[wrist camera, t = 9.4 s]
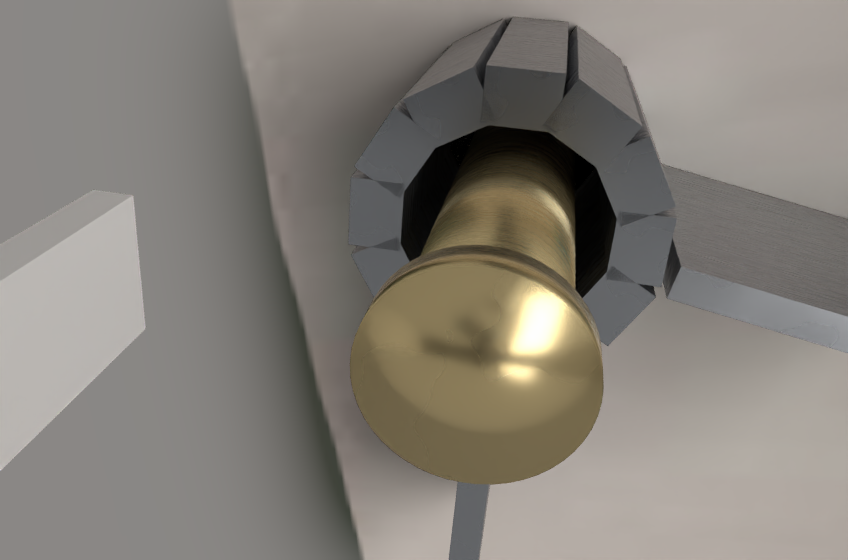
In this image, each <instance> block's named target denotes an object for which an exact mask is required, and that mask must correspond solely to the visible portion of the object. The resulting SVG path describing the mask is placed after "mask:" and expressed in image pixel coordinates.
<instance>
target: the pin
mask: <svg viewBox="0 0 848 560" xmlns="http://www.w3.org/2000/svg"><path fill="white" fill-rule="evenodd" d="M350 377H351V383H352V388H353V392H354V395H355V398H356V401H357V404H358V406H359V408H360V411H361V413H362V415H363V417H364V418H365V420H366V421H367V423H368V424H369V426H370V427H371V429H372V430H373V431H374V433H375V434H376V435H377V436H378V437H379V438H380V440H381V441H382V442H383V443H384V444H386V445H387V446H388V447H389V448H390V449H391V450H392V451H393V452H395V453H396V454H397V455H399V456H400V457H401V458H403V459H404V460H406V461H407V462H409V463H411V464H412V465H414V466H416V467H417V468H420V469H422V470H424V471H426V472H428V473H431V474H433V475H436V476H439V477H442V478H445V479H449V480H453V481H458V482H463V483H471V484H502V483H510V482H515V481H520V480H524V479H527V478H530V477H533V476H536V475H539V474H541V473H543V472H545V471H547V470H549V469H551V468H553V467H554V466H556V465H558V464H559V463H561V462H562V461H564V460H565V459H566V458H567V457H568V456H570V455H571V454H572V453H573V452H574V451H575V450H576V449H577V448H578V447H579V446H580V445H581V444H582V443H583V441H584V440H585V439H586V437H587V436H588V434H589V433H590V431H591V430H592V428H593V425H594V423H595V421H596V419H597V417H598V414H599V410H600V407H601V403H602V396H603V366H602V349H601V342H600V337H599V332H598V329H597V326H596V323H595V320H594V318H593V316H592V314H591V312H590V310H589V308H588V306H587V304H586V303H585V302H584V300H583V299H582V297H581V296H580V295H579V293H578V292H577V291H576V290H575V151H574V150H572V149H571V148H569V147H568V146H567V145H565V144H564V143H563V142H561V141H560V140H559V139H557V138H556V137H555V136H553V135H552V134H551V133H549V132H544V131H536V130H527V129H519V128H510V127H501V126H493V125H488V126H485V127H483V128H481V129H478V130H476V132H475V134H474V136H473V138H472V141H471V143H470V145H469V147H468V150H467V152H466V154H465V156H464V159H463V161H462V163H461V165H460V168H459V170H458V172H457V174H456V177H455V179H454V181H453V183H452V186H451V188H450V190H449V192H448V194H447V197H446V199H445V201H444V203H443V206H442V208H441V210H440V212H439V215H438V217H437V219H436V221H435V224H434V226H433V228H432V230H431V233H430V235H429V237H428V239H427V242H426V244H425V246H424V248H423V251H422V253H421V255H420V257H418V258H416V259H414V260H412V261H410V262H409V263H407V264H406V265H404V266H403V267H401V268H400V269H399V270H398V271H396V272H395V273H394V274H393V275H392V276H391V277H390V278H389V279H388V280H387V281H386V282H385V283H384V284H383V286H382V287H381V288H380V290H379V291H378V293H377V294H376V296H375V297H374V299H373V301H372V303H371V305H370V306H369V308H368V310H367V312H366V314H365V316H364V318H363V320H362V322H361V324H360V326H359V329H358V331H357V333H356V335H355V338H354V342H353V346H352V349H351V358H350Z"/></svg>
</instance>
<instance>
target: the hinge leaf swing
mask: <svg viewBox="0 0 848 560" xmlns="http://www.w3.org/2000/svg"><path fill="white" fill-rule="evenodd" d="M662 167H663V170H664V173H665V176H666V178H667V181H668V184H669V187H670V190H671V193H672V196H673V199H674V202H675V204H676V207H673V208H674V211H675V214H676V217H677V220H676V225H675V229H674V234H673V238H672V242H671V247H670V251H669V256H668V260H667V264H666V269H665V273H664V277H663V284H664V288H665V292H666V296H667V299H670V300H674V301H677V302H680V303H684V304H687V305H690V306H693V307H697V308H700V309H703V310H707V311H710V312H713V313H717V314H720V315H723V316H726V317H730V318H733V319H736V320H740V321H743V322H746V323H750V324H753V325H756V326H760V327H763V328H766V329H769V330H773V331H776V332H779V333H783V334H786V335H789V336H793V337H796V338H799V339H802V340H806V341H809V342H812V343H816V344H819V345H822V346H826V347H829V348H832V349H836V350H839V351H842V352H845V353H848V219H845V218H842V217H839V216H835V215H832V214H828V213H825V212H822V211H818V210H815V209H811V208H808V207H805V206H801V205H798V204H795V203H791V202H788V201H784V200H781V199H778V198H774V197H771V196H767V195H764V194H761V193H757V192H754V191H750V190H747V189H744V188H740V187H737V186H734V185H730V184H727V183H723V182H720V181H717V180H713V179H710V178H706V177H703V176H700V175H696V174H693V173H689V172H686V171H683V170H679V169H676V168H673V167H669V166H666V165H662Z"/></svg>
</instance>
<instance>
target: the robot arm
mask: <svg viewBox="0 0 848 560" xmlns="http://www.w3.org/2000/svg"><path fill="white" fill-rule="evenodd" d="M145 329H146V327H145V317H144V306H143V295H142V285H141V274H140V263H139V252H138V241H137V232H136V220H135V209H134V198H133V195H128V194H121V193H114V192H106V191H98V190H92V191H91V192H89V193H87V194H85V195H84V196H82V197H80V198H79V199H77V200H75V201H74V202H72V203H70V204H68V205H67V206H65V207H63V208H61V209H60V210H58V211H56V212H54V213H53V214H51V215H49V216H48V217H46V218H44V219H42V220H41V221H39V222H37V223H36V224H34V225H32V226H31V227H29V228H27V229H25V230H24V231H22V232H20V233H18V234H17V235H15V236H13V237H12V238H10V239H8V240H6V241H5V242H3V243H1V244H0V471H1V470H2V469H3V468H4V467H5V466H6V465H7V464H8V463H9V462H10V461H11V460H12V459H13V458H14V457H15V456H16V455H17V454H18V453H19V452H20V451H21V450H22V449H23V448H24V447H25V446H26V445H27V444H28V443H29V442H30V441H31V440H32V439H33V438H34V437H36V436H37V434H38V433H40V432H41V431H42V430H43V429H44V428H45V427H46V426H47V425H48V424H49V423H50V422H51V421H52V420H53V419H54V418H55V417H56V416H57V415H58V414H59V413H60V412H61V411H62V410H63V409H64V408H65V407H66V406H67V405H68V404H69V403H70V402H71V401H72V400H73V399H74V398H75V397H76V396H77V395H78V394H79V393H80V392H81V391H83V390H84V389H85V388H86V387H87V386H88V385H89V384H90V383H91V381H93V380H94V378H96V377H97V376H98V375H99V374H100V373H101V372H102V371H103V370H104V369H105V368H106V367H107V366H108V365H109V364H110V363H111V362H112V361H113V360H114V359H115V358H116V357H117V356H118V355H119V354H120V353H121V352H122V351H123V350H124V349H125V348H126V347H128V346H129V345H130V343H131V342H132V341H133V340H135V339H136V338H137V337H138V336H139V335H140V334H141V333H142V332H143V331H144V330H145Z"/></svg>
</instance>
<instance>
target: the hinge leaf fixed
mask: <svg viewBox="0 0 848 560" xmlns="http://www.w3.org/2000/svg"><path fill="white" fill-rule="evenodd" d="M568 26H569V22H561V21H551V20H541V19H531V18H520V17H513V18H512V20H511V22H510V24H509V25H508V26H507V24H506V21H505V19H502V20H500V21H498V22H496V23H494V24H491V25H489V26H487V27H485V28H483V29H481V30H479V31H477V32H475V33H472V34H470V35H468V36H466V37H464V38H462V39H460V40H458V41H456V42H454V43H453V44H452V46H451V47H450V48H447V49H446V50H445V52H444V53H443V54H442V55H441V56H440V57H439V58H438V59H437V60H436V61H435V63H434V64H433V65H432V66H431V67H430V68H429V69H428V70H427V71H426V72H425V74H424V75H423V76H422V77H421V78H420V79H419V80H418V81H417V82H416V83H415V84H414V86H413V87H412V88H411V89H410V90H409V91H408V92H407V93H406V94H405V95H404V97H403V98H402V99H401V100H400V101H399V102H398V103H397V104H396V105H395V106H394V108H393V109H392V111H391V112H390V114H389V115H388V117H387V118H386V120H385V121H384V123H383V124H382V126H381V127H380V129H379V130H378V132H377V133H376V134H375V136H374V137H373V139H372V140H371V142H370V143H369V145H368V146H367V148H366V149H365V151H364V152H363V154H362V155H361V157H360V158H359V160H358V161H357V163H356V164H355V166H354V167H356V168H357V170H356V172H355V173H354V174H353V175H352V176H351V184H350V213H349V243H348V244H351V245H357V246H356V248H355V250H354V251H353V253H352V254H351V256H352V258H353V259H354V261H355V263H356V265H357V267H358V269H359V271H360V273H361V274H362V276H363V278H364V280H365V282H366V284H367V286H368V288H369V289H370V291H371V293H372V295H373V297H375V296H376V294H377V293H378V291H379V290H380V288H381V287H382V286H383V284H384V283H385V282H386V281H387V280H388V279H389V278H390V277H391V276H392V275H393V274H394V273H395V272H396V271H398V270H399V269H400V268H401V267H403V266H404V265H406V264H407V263H409V262H410V261H412V260H414V259H416V258H418V257H420V255H421V253H422V251H423V248H424V246H425V244H426V242H427V239H428V237H429V235H430V233H431V230H432V228H433V226H434V224H435V221H436V219H437V217H438V215H439V212H440V210H441V208H442V206H443V203H444V201H445V199H446V197H447V194H448V192H449V190H450V188H451V186H452V183H453V181H454V179H455V177H456V174H457V172H458V170H459V166H458V164H457V162H456V160H455V157H454V155H453V153H452V151H451V149H450V144H451V141H453V140H455V139H457V138H460V137H462V136H464V135H467V134H469V133H471V132H474V131H476V130H478V129H481V128H483V127H485V126H488V125H493V126H501V127H510V128H519V129H527V130H536V131H544V132H549V133H551V134H552V135H553V136H555V137H556V138H557V139H559V140H560V141H561V142H563V143H564V144H565V145H567V146H568V147H569V148H571V149H572V150H574V151H575V152H576V153H578V154H579V155H580V156H582V157H583V158H584V159H586V160H587V161H588V162H590V163H591V164H592V165H594V166H595V167H596V168H595V169H594V170H593V171H592V172H591V174H590V175H589V176H588V177H587V178H586V179H585V181H584V182H583V183H582V184H581V185H580V187H579V188H578V189H577V190H576V191H575V290H576V291H577V292H578V293H579V295H580V296H581V297H582V299H583V300H584V302H585V303H586V304H587V306H588V308H589V310H590V312H591V314H592V316H593V318H594V320H595V323H596V326H597V329H598V332H599V337H600V341H601V342H603V343H604V344H605V345H607V346H608V345H609V344H610V343H611V342H612V341H613V340H614V339H615V338H616V337H617V336H618V335H619V334H620V333H621V332H622V331H623V330H624V329H625V328H626V327H627V326H628V325H629V324H630V323H631V322H632V321H633V320H634V319H635V318H636V317H637V316H638V315H639V314H640V313H641V312H642V311H643V310H644V309H645V308H646V306H647V305H648V304H649V303H650V302H651V301H652V300H653V299H654V298H655V297H656V296H655V291H654V287H653V286H658V287H661V286H662V282H663V277H664V273H665V269H666V264H667V260H668V256H669V251H670V247H671V242H672V238H673V234H674V229H675V225H676V220H677V217H676V214H675V211H674V208H673V207H676V204H675V202H674V199H673V196H672V193H671V190H670V187H669V184H668V181H667V178H666V176H665V173H664V170H663V167H662V164H661V161H660V158H659V155H658V153H657V150H656V147H655V144H654V141H653V138H652V135H651V132H650V129H649V127H648V124H647V121H646V118H645V115H644V112H643V110H642V107H641V104H640V102H639V99H638V96H637V94H636V91H635V88H634V86H633V83H632V80H631V78H630V75H629V72H628V69H627V67H623V64H622V61H621V59H620V58H619V57H618V56H616V55H615V54H614V53H612V52H611V51H610V50H609V49H607V48H606V47H605V46H603V45H602V44H601V43H599V42H598V41H597V40H595V39H594V38H593V37H592V36H590V35H589V34H588V33H586V32H585V31H584V30H582V29H581V28H580V27H578V26H577V27H576V28H575V29H574V31H573V32H572V33H571V35H570V36H569V37H568ZM489 489H490V484H471V483H463V482H458V484H457V493H456V502H455V510H454V519H453V527H452V536H451V545H450V553H449V560H479V558H480V551H481V544H482V537H483V530H484V524H485V517H486V510H487V503H488V496H489Z"/></svg>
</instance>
